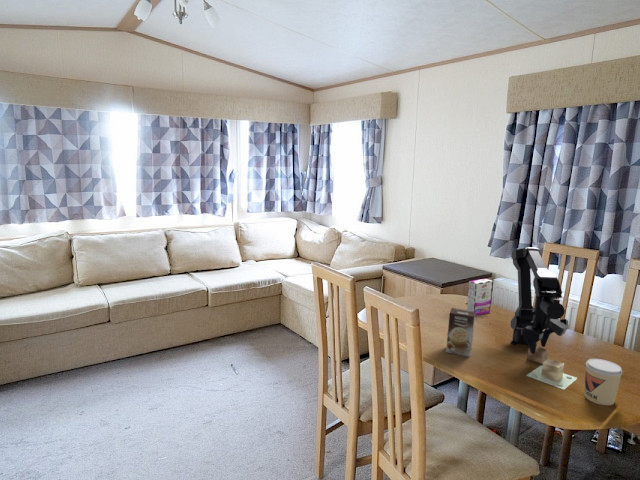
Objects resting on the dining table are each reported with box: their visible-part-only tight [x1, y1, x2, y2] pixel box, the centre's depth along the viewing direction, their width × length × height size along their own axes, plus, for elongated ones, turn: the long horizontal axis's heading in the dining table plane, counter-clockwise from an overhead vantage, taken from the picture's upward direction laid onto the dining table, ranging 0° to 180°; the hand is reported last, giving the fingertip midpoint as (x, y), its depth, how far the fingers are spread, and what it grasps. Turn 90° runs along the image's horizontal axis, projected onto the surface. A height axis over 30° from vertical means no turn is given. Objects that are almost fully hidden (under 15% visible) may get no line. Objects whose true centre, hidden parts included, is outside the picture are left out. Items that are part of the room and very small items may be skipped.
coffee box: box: [445, 307, 476, 358], centre depth 167 cm, size 9×6×16 cm
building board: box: [525, 365, 578, 390], centre depth 148 cm, size 12×12×1 cm
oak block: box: [541, 358, 565, 382], centre depth 147 cm, size 5×5×5 cm
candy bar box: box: [466, 278, 493, 317], centre depth 211 cm, size 11×5×16 cm, turn 117°
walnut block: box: [526, 345, 549, 365], centre depth 161 cm, size 5×5×5 cm
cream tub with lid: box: [583, 358, 623, 406], centre depth 134 cm, size 9×9×12 cm
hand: (538, 349), depth 160 cm, fingers open, 9 cm apart
